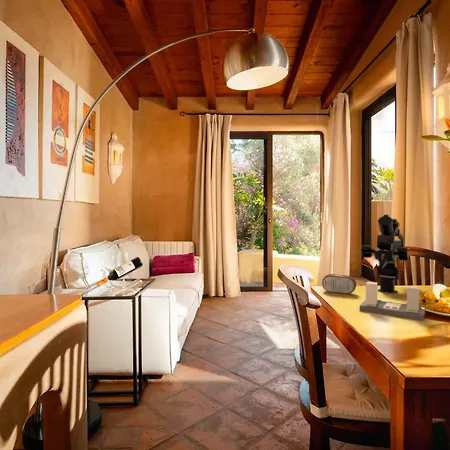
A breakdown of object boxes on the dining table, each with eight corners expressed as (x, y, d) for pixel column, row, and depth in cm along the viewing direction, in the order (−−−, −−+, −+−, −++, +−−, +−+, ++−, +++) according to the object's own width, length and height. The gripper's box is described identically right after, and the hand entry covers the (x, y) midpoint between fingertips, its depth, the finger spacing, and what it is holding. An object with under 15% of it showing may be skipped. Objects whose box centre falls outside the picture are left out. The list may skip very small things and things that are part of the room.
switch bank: (366, 303, 142) (366, 298, 142) (425, 312, 130) (425, 306, 130) (359, 310, 132) (359, 304, 132) (422, 320, 120) (423, 313, 120)
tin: (356, 293, 159) (356, 275, 159) (355, 295, 156) (355, 276, 156) (322, 290, 166) (322, 273, 165) (321, 292, 163) (321, 274, 162)
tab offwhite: (367, 302, 135) (367, 281, 135) (377, 303, 133) (377, 282, 133) (365, 303, 133) (366, 283, 132) (375, 305, 131) (375, 284, 130)
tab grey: (407, 307, 127) (408, 286, 127) (418, 309, 125) (419, 287, 125) (406, 309, 125) (407, 287, 125) (417, 311, 123) (418, 288, 123)
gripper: (362, 227, 158) (355, 254, 149) (408, 229, 147) (404, 257, 139) (365, 243, 164) (359, 270, 156) (410, 246, 154) (406, 274, 145)
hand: (381, 267), depth 149 cm, fingers closed
